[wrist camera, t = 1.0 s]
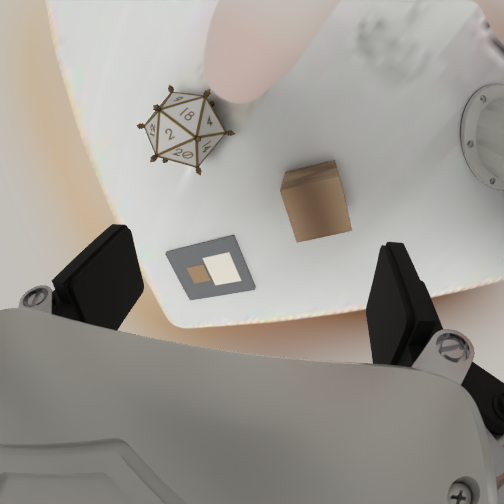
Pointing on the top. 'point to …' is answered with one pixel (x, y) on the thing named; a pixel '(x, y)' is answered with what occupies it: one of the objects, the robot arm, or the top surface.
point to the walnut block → (315, 201)
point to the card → (211, 268)
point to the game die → (184, 129)
